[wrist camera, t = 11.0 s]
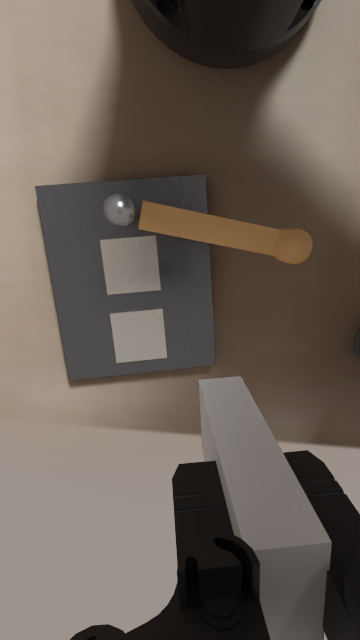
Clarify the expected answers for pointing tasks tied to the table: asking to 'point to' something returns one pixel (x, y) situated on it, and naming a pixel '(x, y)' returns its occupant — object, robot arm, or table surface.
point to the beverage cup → (357, 344)
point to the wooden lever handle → (227, 232)
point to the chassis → (127, 277)
